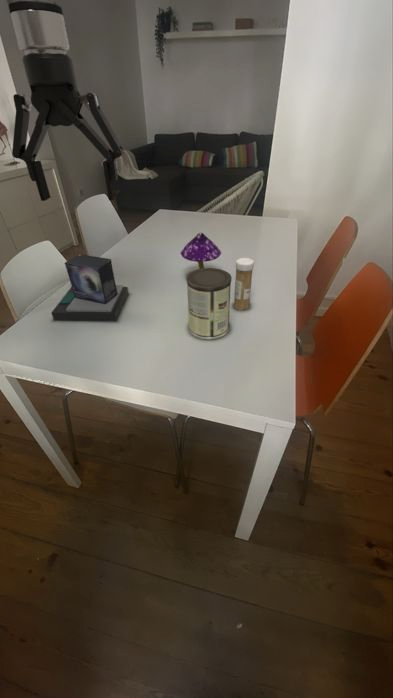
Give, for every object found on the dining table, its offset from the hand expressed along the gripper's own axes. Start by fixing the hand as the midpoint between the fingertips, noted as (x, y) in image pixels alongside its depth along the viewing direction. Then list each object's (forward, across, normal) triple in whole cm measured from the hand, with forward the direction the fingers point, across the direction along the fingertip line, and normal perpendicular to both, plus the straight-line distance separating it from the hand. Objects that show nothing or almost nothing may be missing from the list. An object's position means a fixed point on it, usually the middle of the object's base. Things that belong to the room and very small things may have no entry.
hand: (79, 199), depth 63 cm
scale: (+31, +7, -10) cm, 33 cm away
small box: (+28, +6, -10) cm, 30 cm away
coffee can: (+31, -26, 0) cm, 40 cm away
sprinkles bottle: (+31, -35, -11) cm, 48 cm away
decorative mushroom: (+31, -23, -28) cm, 48 cm away
